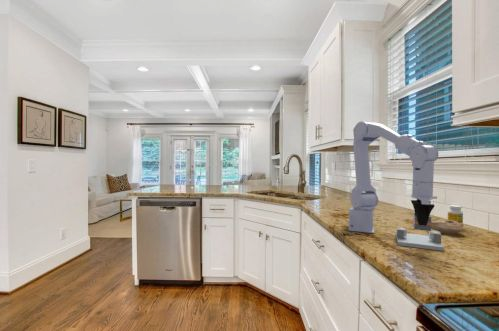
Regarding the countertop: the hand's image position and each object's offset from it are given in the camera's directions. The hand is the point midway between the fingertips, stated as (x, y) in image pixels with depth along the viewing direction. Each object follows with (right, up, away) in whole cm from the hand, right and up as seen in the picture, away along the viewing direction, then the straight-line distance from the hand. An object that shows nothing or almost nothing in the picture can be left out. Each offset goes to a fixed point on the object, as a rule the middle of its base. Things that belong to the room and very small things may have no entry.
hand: (421, 223), depth 90 cm
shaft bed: (+3, -8, +7) cm, 11 cm away
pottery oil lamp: (+23, -9, +21) cm, 32 cm away
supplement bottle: (+33, -8, +30) cm, 45 cm away
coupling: (0, -2, 0) cm, 2 cm away
